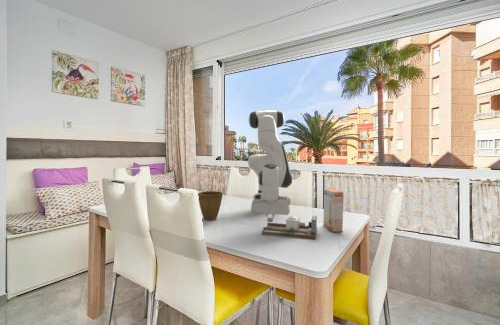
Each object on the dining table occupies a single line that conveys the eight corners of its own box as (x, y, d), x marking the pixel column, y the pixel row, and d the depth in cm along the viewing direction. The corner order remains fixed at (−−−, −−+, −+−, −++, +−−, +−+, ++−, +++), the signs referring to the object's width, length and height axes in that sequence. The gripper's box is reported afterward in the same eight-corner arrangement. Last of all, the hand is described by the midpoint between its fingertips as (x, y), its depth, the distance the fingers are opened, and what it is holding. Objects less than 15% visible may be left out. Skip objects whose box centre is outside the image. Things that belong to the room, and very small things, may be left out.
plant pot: (216, 223, 157) (216, 195, 156) (193, 220, 162) (193, 194, 161) (226, 217, 171) (226, 191, 170) (205, 215, 176) (205, 190, 175)
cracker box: (343, 232, 141) (344, 192, 140) (331, 232, 140) (332, 192, 139) (333, 224, 155) (334, 188, 153) (323, 224, 154) (323, 188, 153)
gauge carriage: (288, 225, 144) (288, 215, 144) (305, 227, 142) (305, 216, 141) (284, 231, 135) (285, 220, 134) (303, 233, 132) (303, 221, 132)
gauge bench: (268, 226, 151) (268, 222, 151) (316, 230, 144) (316, 227, 144) (262, 234, 137) (262, 230, 137) (315, 239, 130) (315, 235, 130)
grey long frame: (267, 224, 149) (267, 211, 149) (316, 228, 142) (316, 215, 141) (263, 229, 139) (263, 216, 139) (315, 234, 132) (315, 220, 132)
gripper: (291, 195, 143) (290, 221, 143) (253, 193, 149) (253, 218, 149) (289, 197, 137) (289, 225, 137) (250, 195, 142) (250, 221, 143)
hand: (270, 221), depth 143 cm, fingers closed
